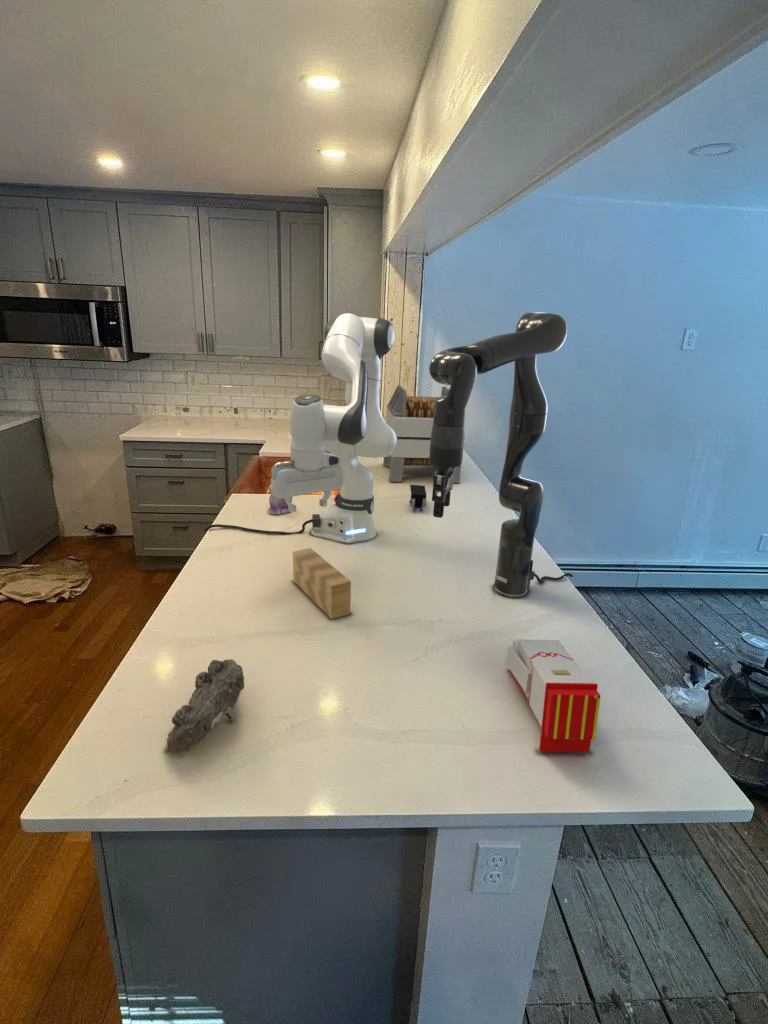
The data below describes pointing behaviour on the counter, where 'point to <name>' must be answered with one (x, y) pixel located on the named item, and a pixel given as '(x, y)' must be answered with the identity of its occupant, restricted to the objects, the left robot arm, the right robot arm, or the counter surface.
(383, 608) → the counter surface
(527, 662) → the toy
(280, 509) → the figurine
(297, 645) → the counter surface
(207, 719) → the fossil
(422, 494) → the figurine character
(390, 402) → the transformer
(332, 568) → the bar
